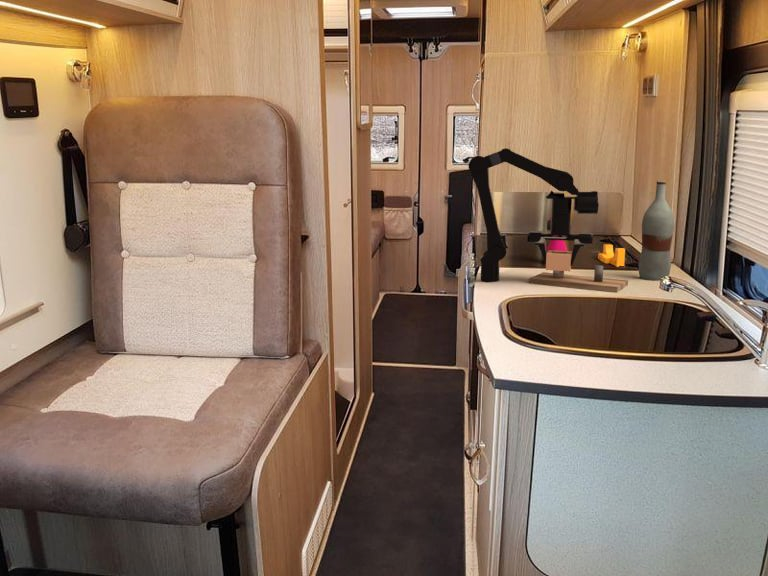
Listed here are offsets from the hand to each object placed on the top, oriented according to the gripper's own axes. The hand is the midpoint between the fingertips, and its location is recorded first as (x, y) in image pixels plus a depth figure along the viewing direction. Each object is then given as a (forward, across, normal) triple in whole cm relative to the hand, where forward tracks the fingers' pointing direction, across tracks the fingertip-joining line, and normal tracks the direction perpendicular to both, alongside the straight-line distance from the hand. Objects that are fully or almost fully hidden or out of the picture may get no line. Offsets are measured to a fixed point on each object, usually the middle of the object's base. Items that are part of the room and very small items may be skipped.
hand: (558, 265), depth 189 cm
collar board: (+5, -6, +2) cm, 8 cm away
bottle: (+5, -28, -15) cm, 32 cm away
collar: (+1, 0, 0) cm, 1 cm away
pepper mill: (+5, +2, -32) cm, 32 cm away
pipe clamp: (+6, -16, -40) cm, 43 cm away
